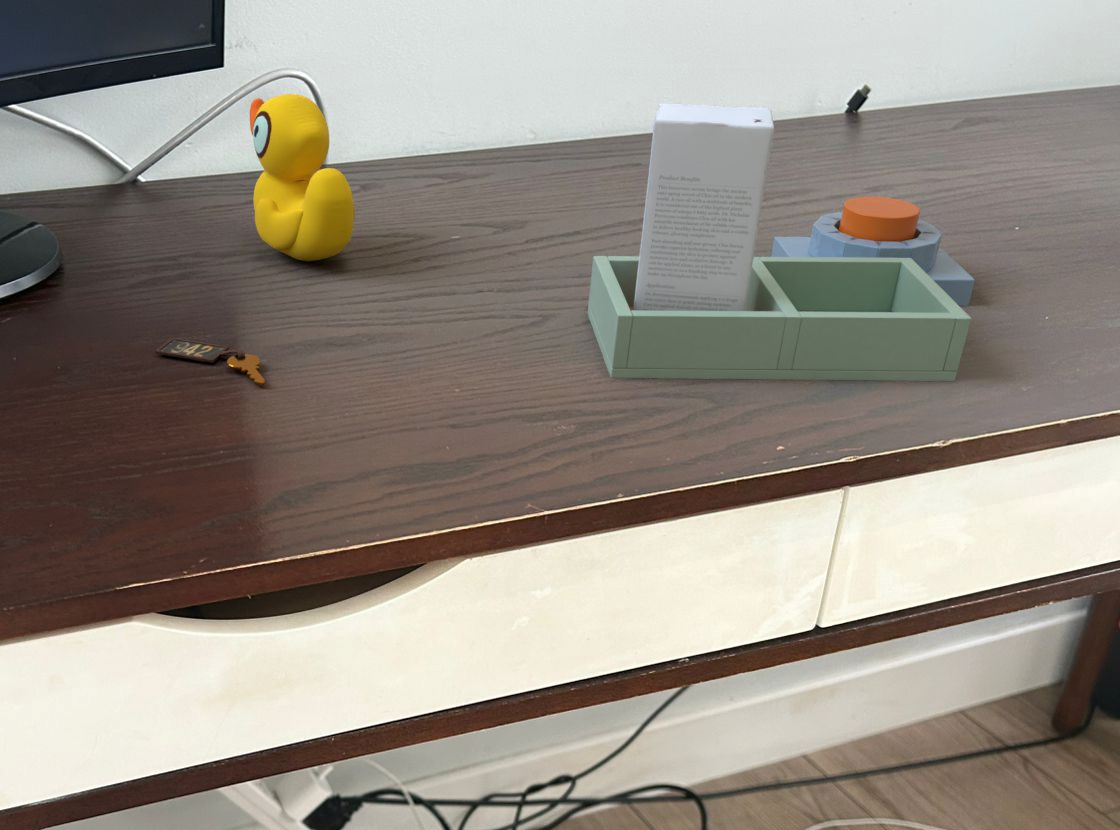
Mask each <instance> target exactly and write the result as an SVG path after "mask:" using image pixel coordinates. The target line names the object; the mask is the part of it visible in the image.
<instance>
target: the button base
mask: <svg viewBox="0 0 1120 830" xmlns="http://www.w3.org/2000/svg"><path fill="white" fill-rule="evenodd" d="M842 212H843V210H842V211H838V212H833V213H827V214H823V215H821V216H820V217H818V218H817V220H816V221H815V222H814V223H813V224H812V228H811V229H812V230H811V235H810V236H774V238H773V244H772V249H771V250H772V251H771V255H770V257H866V258H911V259H912V260H913V261H914V262H915V263H916V264H917V265H918V266H919V267H920V268H921V269H922V270H923V271H924V272H926V273H927V274H928V275H929V276H930V277H931V278H932V279H933V280H934V281H935V282H936V283H937V284H938V285H939V286H940V287H941V288H942V289H943V290H944V291H945V292H946V293H947V294H948V295H949V296H950V297H951V298H952V299H953V300H954V301H955V302H956V303H957V304H958V305H959V306H960V307H967V306H969V304H970V301H971V296H972V294H973V290H974V286H975V283H976V280H975V278H974V277H973V276H971V274H969V272H968V271H966V270H965V269H964V268H963V267H962V266H961V265H960V264H959V263H957V262H956V260H955V259H953V258H952V257H951V256H950V255H949V254H948V253H947V252H946V251H945V250H944V249H942V247H940V246H941V242H942V238H943V233H942V232H941V231H940V230H939V229H938V228H936V227H935V226H934V225H933V224H931V223H928V222H926V221H922V220H919V219H918V223H917V227H916V231H915V235H914V239H911V240H907V241H902V242H878V241H871V240H865V239H859V238H855V237H852V236H849V235H847V234H844V233H841V232H839V226H840V222H841V217H842Z"/></svg>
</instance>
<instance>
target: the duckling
mask: <svg viewBox="0 0 1120 830" xmlns="http://www.w3.org/2000/svg"><path fill="white" fill-rule="evenodd" d="M249 125H250V126H249V128H250V132H251V135H252V139H253V146H254V151H255V153H256V156H257V159H258V161H259V163H260V165H261V166H262V168H263V172H262V173H261V174H260V175H259V177H258V179H257V180H256V183H255V186H254V190H253V198H252V199H253V202H252V203H253V209H254V223H255V228H256V231H257V233H258V235H259V237H260V239H261V241H263V242H264V243H266V244H267V245H268V246H270V247H271V248H272V249H273V250H276V251H278V252H280V253H283V254H285V255H286V256H289V257H291V258H293V259H295V260H297V261H303V262H314V261H320V260H325V259H328V258H332V257H334V256H336V255H338V254H340V253H341V252H342V251H343V250H344V249H346V247H347V245H349V243H350V241H351V239H352V236H353V232H354V222H355V216H356V215H355V212H356V211H355V203H354V197H353V193H352V188H351V186H350V184H349V182H348V179H347V178H346V176H345V175H344V174H343V172H341V171H340V170H339V169H337V168H333V167H326V168H322V166H323V165H324V163H325V162H326V159H327V156H328V153H329V149H330V132H329V127H328V123H327V120H326V118H325V115H324V113H323V112H322V110H321V108H320V107H319V106H318V105H317V104H316V102H314V101H313V100H312V99H310V98H308V97H307V96H304V95H303V94H302V95H301V94H296V93H284V94H280V95H276V96H273V97H271V98H269V99H268V100H266V101H264V100H263V99H262V98H255V99H253V100H252V102H251V104H250V108H249ZM320 168H322V169H320Z"/></svg>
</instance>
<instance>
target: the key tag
mask: <svg viewBox="0 0 1120 830" xmlns="http://www.w3.org/2000/svg"><path fill="white" fill-rule="evenodd" d="M155 354H157V355H162V356H169V357H176V358H180V359H181V358H182V359H188V360H193V361H198V362H199V361H200V362H207V363H214V362H216V361H217V360H218V359H219V358H225V359H227V360H226V365H227V366H228V367H229V368H230V369H233V370H236V371H240V372H241V373H242V374H244V373H246V377H249V379H250V381H253V382H254V384H255V385H259V386H265V384H266V380H265V378H264V377H263V376H262V375H261V373H260V372H259V370H260V365H261V359H260V358H259V356H257V355H254V354H249V353H245V352H244V350H241V349H230V346H229V345H222V344H217V343H212V342H211V343H209V342H203V341H197V340H191V339H184V338H179V337H172V338H170V339H169V340H167V341H166V342H164V343H163V344H162V345H161V346H159V347H158V348H157V349H156V350H155Z"/></svg>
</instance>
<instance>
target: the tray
mask: <svg viewBox="0 0 1120 830" xmlns="http://www.w3.org/2000/svg"><path fill="white" fill-rule="evenodd" d="M638 264H639V255H608V256H607V255H594V256H593V257H592V265H591V267H592V268H591V277H590V284H589V293H588V294H589V296H588V305H587V316H588V319H589V322H590V324H591V327H592V330H593V333H594V335H595V339H596V341H597V343H598V347H599V349H600V352H601V355H602V357H603V358H602V359H603V361H604V363H605V366H606V369H607V372H608V375H609V377H610V378H611V379H684V380H685V379H695V380H697V379H698V380H699V379H700V380H703V379H704V380H795V381H796V380H798V381H801V380H802V381H804V380H807V381H808V380H809V381H810V380H811V381H820V380H821V381H907V382H908V381H914V382H915V381H918V382H920V381H921V382H922V381H925V382H926V381H927V382H955V381H956V379H957V375H958V371H959V367H960V363H961V360H962V356H963V352H964V348H965V345H966V341H967V338H968V333H969V330H970V325H971V321H972V317H971V316H970V315H969V314H968V313H967V312H966V311H965V310H964V309H963V308H962V306H959V305H958V304H957V303H956V302H955V301H954V300H953V299H952V298H951V297H950V296H949V295H948V294H947V293H946V292H945V291H944V290H943V289H942V288H941V287H940V286H939V285H938V284H937V283H936V282H935V281H934V280H933V279H932V278H931V277H930V276H929V275H928V274H927V273H926V272H924V271H923V270H922V269H921V268H920V267H919V266H918V265H917V264H916V263H915V262H914V261H913V260H912V259H911V258H866V257H771V256H754V258H753V264H752V270H751V276H750V282H749V289H748V295H747V302H746V308H745V311H647V310H633V307H634V299H635V290H636V281H637V272H638Z"/></svg>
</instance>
